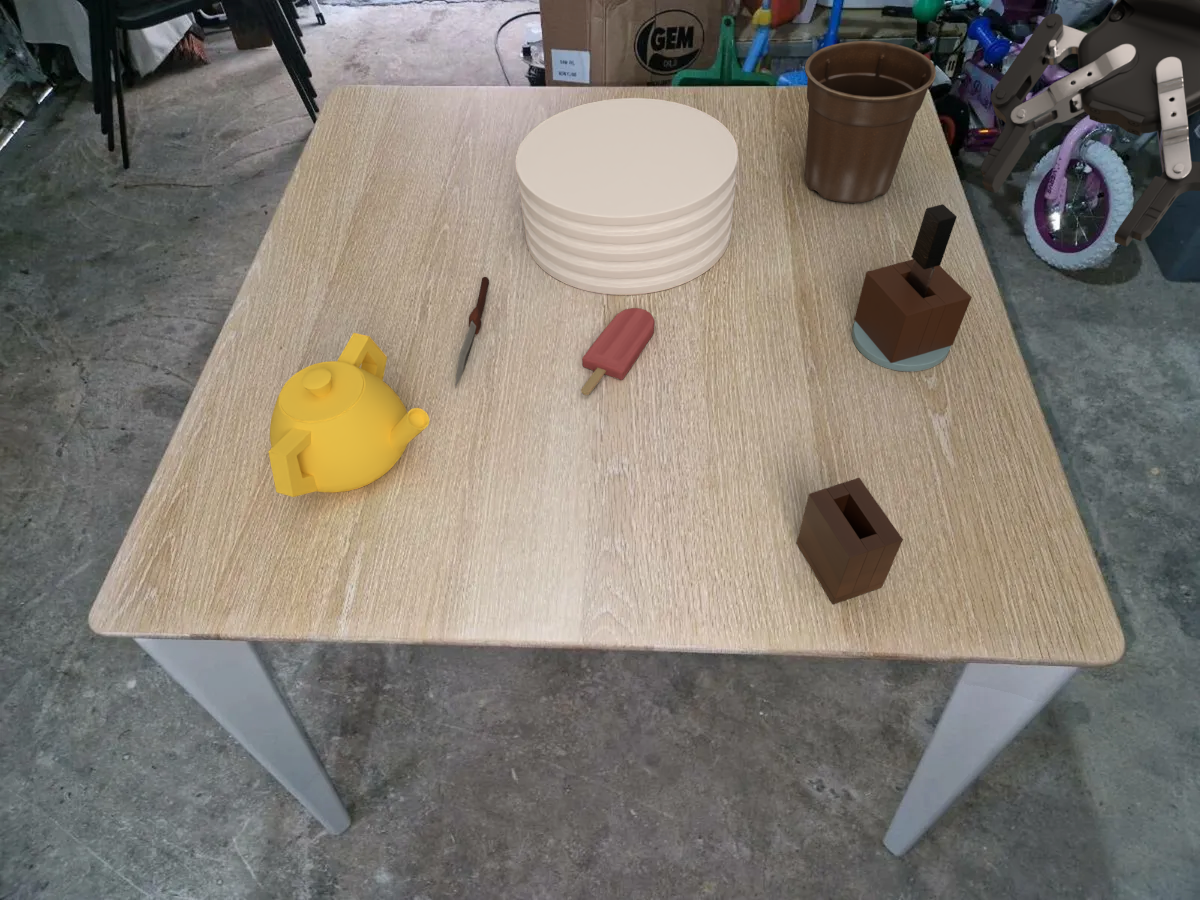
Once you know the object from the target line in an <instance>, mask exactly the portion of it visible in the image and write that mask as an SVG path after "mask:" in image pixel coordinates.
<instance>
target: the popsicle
mask: <svg viewBox="0 0 1200 900" xmlns="http://www.w3.org/2000/svg"><path fill="white" fill-rule="evenodd" d="M655 321H656V320H655V318H654V316H653V315H652V313H651V312H649V311H648V310H646V309H644V308H640V307H630V308H625V309H623V310H621V311H620V312H618V313H616V315H615V316H614V317H613V319H612V320H611V321H610V322H609V323H608V325H607V326H606V327H605V328H604V329H603V331H602V332H601V333H600V334H599V335H598V337H597V338H596V339H595V340H594V342H593V343H592V345H591V346H590V347H589V348H588V350H587V351H586V352H585V353H584V355H583V356H582V358H581V365H582V367H583V368H585V369H587V370H591V371H593V373H592V374H591V375H590V376H589V378H588V379H587V381H586V382H585V383H584V385H583V386H582V388H581V389H580V393H581V394H582V395H584V396H589V395H591V393H592V392H593V391H594V389H595V388H596V386H597V385H598V384H599V382H600V381H601V380H602V378H603V377H604V376H605V375H606V376H608V377H611V378H614V379H617V380H620V381H623V380H624V379H625V377H626V376H627V375H628V373H629V371H630V370H631V369H632V367H633V366H634V365H635V363H636V361H637V360H638V358H639V357H640V356H641V354H642V352H643V351H644V350H645V348H646V346H647V344H648V343H649V342H650V340H651V338H652V337H653V335H654V334H655V328H656V327H655V325H656V324H655V323H656V322H655Z"/></svg>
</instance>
